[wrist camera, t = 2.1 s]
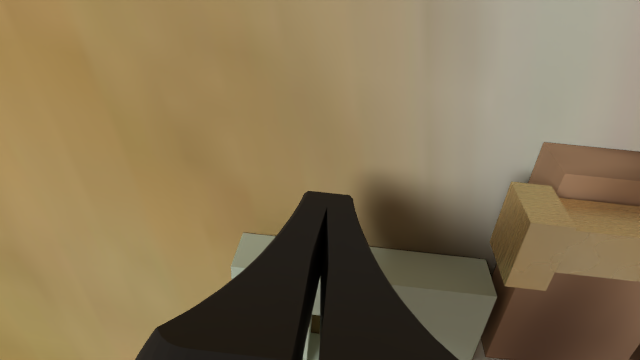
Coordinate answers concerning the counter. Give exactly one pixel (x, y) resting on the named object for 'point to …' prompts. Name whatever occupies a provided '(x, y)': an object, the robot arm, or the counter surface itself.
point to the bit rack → (416, 292)
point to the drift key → (563, 238)
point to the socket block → (568, 289)
